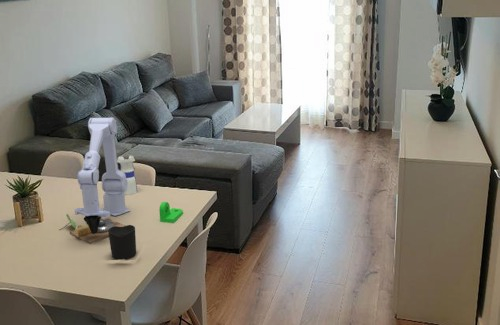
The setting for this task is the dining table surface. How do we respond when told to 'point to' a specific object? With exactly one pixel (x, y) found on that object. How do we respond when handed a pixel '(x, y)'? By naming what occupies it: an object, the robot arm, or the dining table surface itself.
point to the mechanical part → (169, 213)
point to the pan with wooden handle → (102, 227)
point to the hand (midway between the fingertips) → (94, 232)
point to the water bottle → (128, 172)
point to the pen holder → (122, 242)
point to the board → (98, 236)
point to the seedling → (71, 222)
